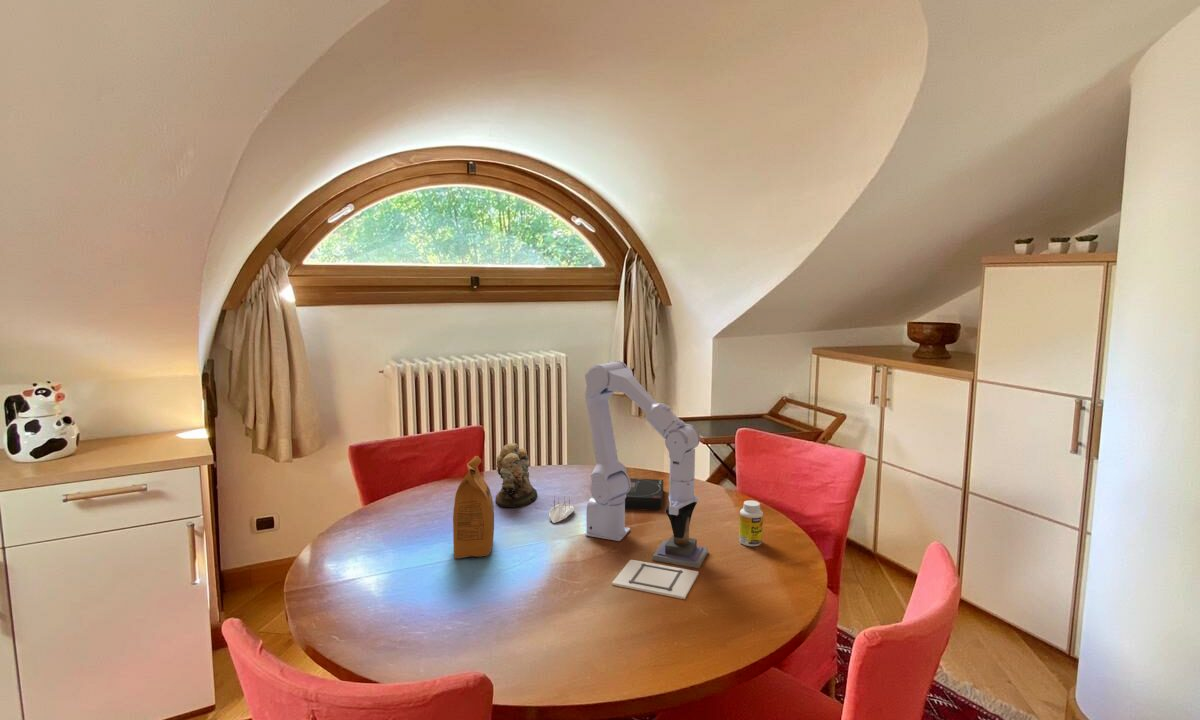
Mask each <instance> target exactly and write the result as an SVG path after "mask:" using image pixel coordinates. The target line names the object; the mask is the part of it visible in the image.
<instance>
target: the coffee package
mask: <svg viewBox="0 0 1200 720" xmlns="http://www.w3.org/2000/svg"><path fill="white" fill-rule="evenodd" d="M481 463H482V459H481V458H480V457H479V455H475V456H474V457H473V458H472V459H471V460H470V461H469V462H467V464H466V467H467V468H466V469H467V472H466V474H465V476H464V478H462V480H461V482H460V484H459V485H458V488H457V489H456V492H455V497H454V502H453V503H454V505H453V513H452V527H453V528H452V529H453V530H452V531H453V532H452V535H453V536H452V538H453V539H452V541H453V556H454V558H455V559H457V560H458V559H462V558H468V557H476V558H477V557H483V556H484V557H485V556H489V555H491V551H492V547H493V543H494V534H495V511H494V502H493V495H492V493H491V488H490V487H489V485H488V483H487V482H486V480H485V479H484V478H483V476H481V473H480V470H479V468H478V467H479V465H480V464H481Z"/></svg>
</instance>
